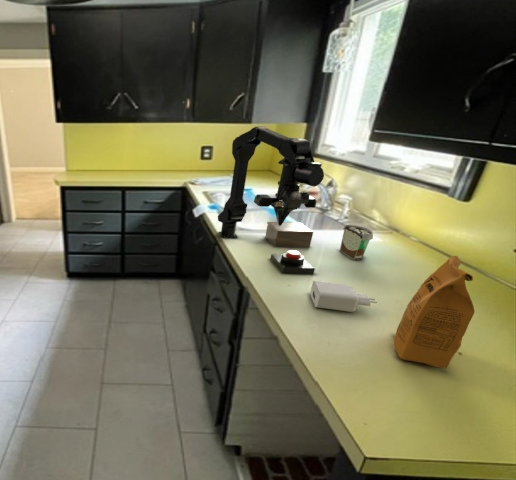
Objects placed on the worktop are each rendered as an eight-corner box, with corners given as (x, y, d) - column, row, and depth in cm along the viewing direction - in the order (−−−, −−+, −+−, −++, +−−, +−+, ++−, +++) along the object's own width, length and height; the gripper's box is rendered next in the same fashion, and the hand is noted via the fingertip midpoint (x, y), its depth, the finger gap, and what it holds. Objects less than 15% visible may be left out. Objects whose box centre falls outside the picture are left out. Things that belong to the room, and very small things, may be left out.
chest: (265, 237, 152) (267, 224, 150) (297, 237, 152) (300, 224, 149) (274, 246, 142) (277, 233, 139) (309, 247, 141) (313, 233, 139)
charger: (379, 317, 95) (316, 308, 98) (367, 300, 103) (309, 293, 107) (384, 301, 93) (320, 293, 96) (372, 286, 101) (313, 279, 105)
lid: (266, 223, 150) (267, 221, 150) (299, 224, 150) (300, 222, 150) (277, 232, 139) (277, 230, 139) (313, 233, 139) (313, 231, 138)
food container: (373, 261, 128) (382, 235, 124) (356, 261, 128) (364, 235, 124) (353, 249, 140) (361, 224, 135) (337, 249, 140) (344, 224, 135)
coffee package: (443, 346, 83) (485, 258, 74) (451, 376, 74) (499, 280, 65) (391, 332, 88) (424, 248, 79) (392, 358, 79) (429, 267, 70)
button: (284, 254, 125) (285, 249, 124) (296, 254, 125) (297, 250, 124) (289, 259, 121) (290, 254, 120) (301, 259, 121) (302, 254, 120)
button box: (270, 259, 130) (272, 249, 128) (298, 260, 130) (300, 249, 128) (282, 273, 119) (284, 262, 117) (313, 274, 119) (316, 263, 117)
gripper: (268, 184, 112) (259, 232, 119) (330, 186, 111) (317, 233, 118) (257, 177, 122) (249, 221, 129) (314, 178, 121) (302, 223, 128)
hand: (279, 225), depth 126 cm, fingers closed
